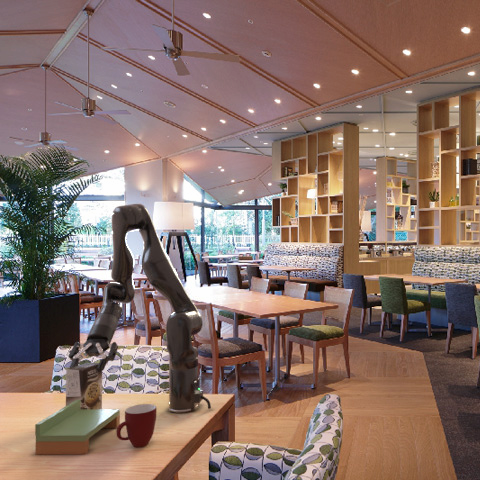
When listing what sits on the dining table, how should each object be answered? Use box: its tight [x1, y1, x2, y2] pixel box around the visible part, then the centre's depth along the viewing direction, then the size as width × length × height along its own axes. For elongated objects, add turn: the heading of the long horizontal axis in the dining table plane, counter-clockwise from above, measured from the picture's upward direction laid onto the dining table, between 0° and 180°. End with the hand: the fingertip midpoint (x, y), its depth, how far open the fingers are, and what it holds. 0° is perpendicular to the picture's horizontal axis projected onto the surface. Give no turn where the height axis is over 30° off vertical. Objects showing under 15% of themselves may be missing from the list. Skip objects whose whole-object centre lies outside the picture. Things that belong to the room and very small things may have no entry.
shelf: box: [34, 400, 121, 455], centre depth 140 cm, size 13×20×8 cm, turn 2°
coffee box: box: [65, 362, 103, 410], centre depth 159 cm, size 9×6×16 cm
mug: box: [115, 403, 157, 448], centre depth 135 cm, size 10×8×10 cm
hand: (85, 371), depth 159 cm, fingers open, 8 cm apart
